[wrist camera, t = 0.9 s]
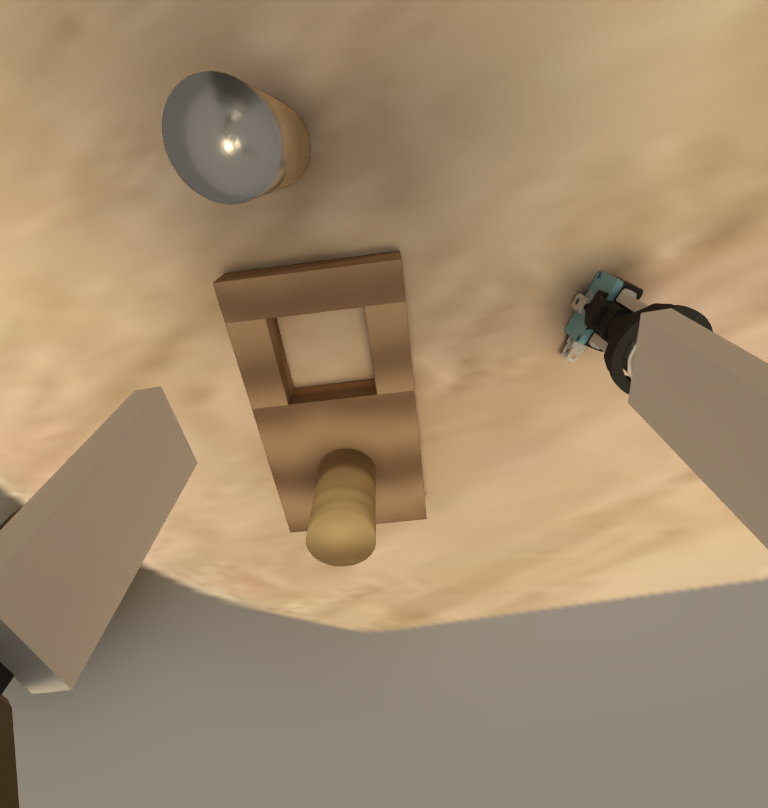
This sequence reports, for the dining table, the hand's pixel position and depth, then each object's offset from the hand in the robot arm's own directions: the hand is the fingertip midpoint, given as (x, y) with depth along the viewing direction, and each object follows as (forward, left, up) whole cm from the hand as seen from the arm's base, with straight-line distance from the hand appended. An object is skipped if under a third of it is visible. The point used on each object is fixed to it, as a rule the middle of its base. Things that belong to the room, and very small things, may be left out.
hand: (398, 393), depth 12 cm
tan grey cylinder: (-7, -6, -20) cm, 22 cm away
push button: (+6, +14, -20) cm, 25 cm away
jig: (+11, -5, -20) cm, 23 cm away
